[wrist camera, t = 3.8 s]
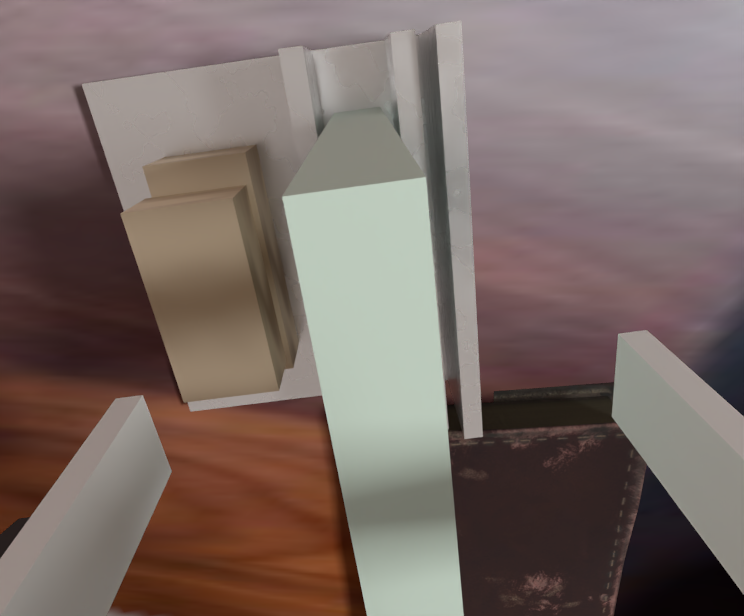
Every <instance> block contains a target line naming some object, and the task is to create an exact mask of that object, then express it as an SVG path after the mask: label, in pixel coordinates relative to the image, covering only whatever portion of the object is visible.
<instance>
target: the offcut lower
mask: <svg viewBox="0 0 744 616" xmlns="http://www.w3.org/2000/svg"><path fill="white" fill-rule="evenodd" d="M142 168H143V171H144V174H145V177H146V181H147V184H148V187H149V190H150V194H151V197H152V198H153V197H161V196H168V195H175V194H183V193H190V192H197V191H204V190H212V189H219V188H226V187H233V186H241V185H246V187H247V191H248V195H249V200H250V204H251V208H252V213H253V217H254V222H255V226H256V230H257V235H258V239H259V243H260V248H261V252H262V256H263V261H264V265H265V269H266V274H267V278H268V283H269V287H270V291H271V296H272V300H273V304H274V309H275V313H276V317H277V322H278V326H279V331H280V335H281V339H282V344H283V348H284V352H285V357H286V365H285V369H291V368H294V363H295V359H296V354H297V350H298V345H299V341H298V336H297V332H296V327H295V322H294V318H293V313H292V308H291V304H290V299H289V294H288V290H287V285H286V280H285V276H284V271H283V266H282V262H281V257H280V252H279V248H278V243H277V238H276V234H275V229H274V224H273V220H272V215H271V210H270V206H269V201H268V196H267V192H266V187H265V182H264V178H263V173H262V168H261V164H260V159H259V154H258V150H257V145H249V146H242V147H235V148H228V149H220V150H213V151H206V152H199V153H192V154H185V155H178V156H170V157H164V158H161V159H159V160H157V161H154V162H152V163H150V164H147V165H145V166H143V167H142Z"/></svg>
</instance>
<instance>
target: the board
mask: <svg viewBox="0 0 744 616" xmlns="http://www.w3.org/2000/svg"><path fill="white" fill-rule="evenodd" d="M282 199H283V204H284V209H285V214H286V219H287V224H288V229H289V234H290V238H291V243H292V248H293V253H294V258H295V263H296V268H297V273H298V278H299V283H300V288H301V293H302V298H303V303H304V308H305V312H306V317H307V322H308V327H309V332H310V337H311V342H312V347H313V352H314V357H315V362H316V367H317V372H318V377H319V382H320V386H321V391H322V396H323V401H324V406H325V411H326V416H327V421H328V426H329V431H330V436H331V441H332V446H333V451H334V456H335V461H336V465H337V470H338V475H339V480H340V485H341V490H342V495H343V500H344V505H345V510H346V515H347V520H348V525H349V530H350V535H351V539H352V544H353V549H354V554H355V559H356V564H357V569H358V574H359V579H360V584H361V589H362V594H363V599H364V604H365V609H366V613H367V616H464V613H463V602H462V590H461V579H460V567H459V555H458V544H457V532H456V521H455V509H454V497H453V486H452V474H451V463H450V451H449V439H448V428H447V416H446V404H445V393H444V381H443V370H442V358H441V346H440V335H439V323H438V312H437V300H436V288H435V277H434V265H433V253H432V242H431V230H430V219H429V207H428V195H427V184H426V176H425V175H424V173H423V172H422V170H421V169H420V167H419V166H418V164H417V163H416V161H415V160H414V158H413V156H412V155H411V153H410V152H409V150H408V149H407V147H406V146H405V144H404V143H403V141H402V140H401V138H400V137H399V135H398V133H397V132H396V130H395V129H394V127H393V126H392V124H391V123H390V121H389V120H388V118H387V117H386V115H385V114H384V112H383V111H382V109H381V107H373V108H366V109H359V110H352V111H345V112H338V113H334V114H333V115H332V117H331V119H330V120H329V122H328V123H327V125H326V127H325V128H324V130H323V131H322V133H321V135H320V136H319V138H318V140H317V141H316V143H315V144H314V146H313V148H312V149H311V151H310V152H309V154H308V156H307V157H306V159H305V160H304V162H303V164H302V165H301V167H300V169H299V170H298V172H297V173H296V175H295V177H294V178H293V180H292V181H291V183H290V185H289V186H288V188H287V189H286V191H285V193H284V194H283V196H282Z"/></svg>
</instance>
